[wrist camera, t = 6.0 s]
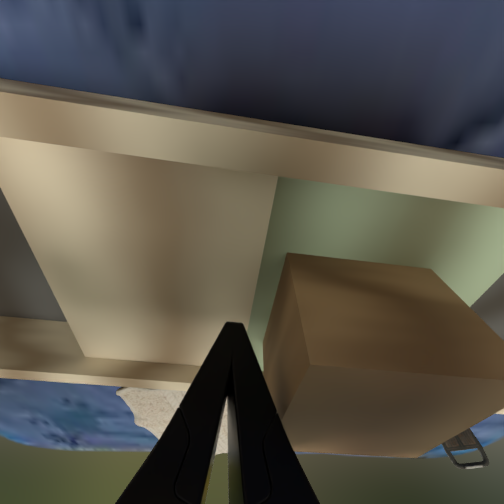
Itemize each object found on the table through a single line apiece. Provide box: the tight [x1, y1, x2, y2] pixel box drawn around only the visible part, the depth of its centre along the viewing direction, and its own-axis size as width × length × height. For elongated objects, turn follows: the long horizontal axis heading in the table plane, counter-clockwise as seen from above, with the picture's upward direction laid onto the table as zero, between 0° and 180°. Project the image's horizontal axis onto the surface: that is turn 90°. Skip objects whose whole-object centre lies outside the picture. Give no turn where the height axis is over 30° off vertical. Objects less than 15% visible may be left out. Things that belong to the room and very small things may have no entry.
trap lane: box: [0, 78, 504, 414], centre depth 11 cm, size 40×14×4 cm, turn 82°
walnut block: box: [263, 252, 504, 458], centre depth 9 cm, size 6×6×4 cm
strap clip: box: [442, 428, 489, 469], centre depth 22 cm, size 8×3×4 cm, turn 28°
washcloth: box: [116, 387, 228, 455], centre depth 21 cm, size 12×18×3 cm, turn 12°
